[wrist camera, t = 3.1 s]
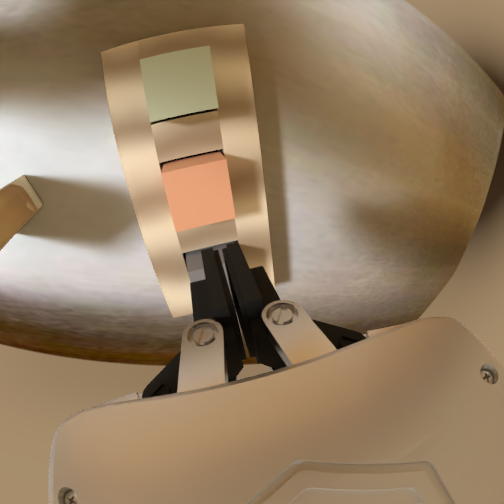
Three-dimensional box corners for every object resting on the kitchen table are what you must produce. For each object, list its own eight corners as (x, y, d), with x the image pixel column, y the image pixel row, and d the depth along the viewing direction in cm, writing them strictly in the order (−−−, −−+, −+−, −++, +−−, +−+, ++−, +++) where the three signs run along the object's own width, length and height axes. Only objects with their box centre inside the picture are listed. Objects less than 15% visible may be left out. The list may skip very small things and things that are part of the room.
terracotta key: (163, 163, 22) (161, 173, 19) (219, 151, 23) (226, 159, 20) (175, 214, 25) (176, 232, 22) (227, 202, 26) (235, 218, 23)
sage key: (145, 66, 18) (139, 59, 15) (204, 54, 18) (209, 45, 15) (154, 120, 20) (150, 122, 17) (212, 107, 21) (218, 107, 18)
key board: (108, 57, 18) (100, 52, 15) (236, 31, 20) (243, 23, 17) (172, 301, 32) (173, 317, 30) (267, 277, 34) (275, 292, 32)
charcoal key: (185, 251, 27) (187, 272, 24) (234, 239, 28) (242, 259, 25) (196, 289, 30) (200, 312, 27) (241, 279, 31) (249, 300, 27)
